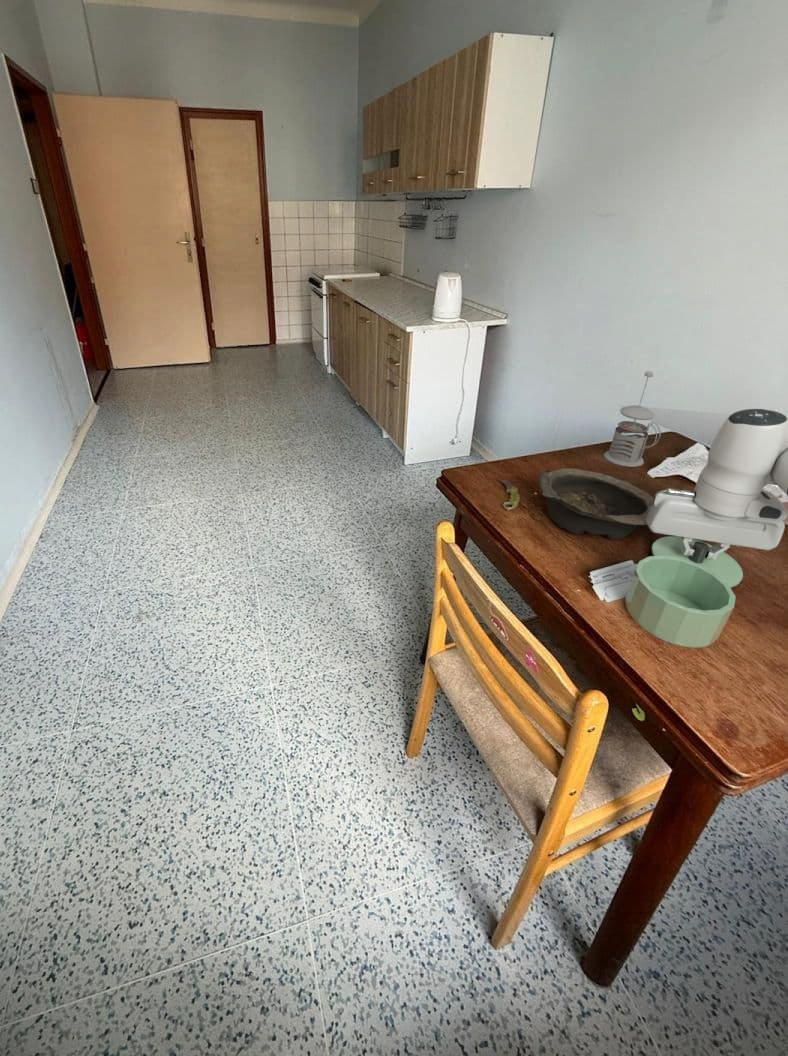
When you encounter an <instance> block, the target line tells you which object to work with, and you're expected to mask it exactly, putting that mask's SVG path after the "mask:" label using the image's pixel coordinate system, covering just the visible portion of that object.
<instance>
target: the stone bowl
mask: <svg viewBox="0 0 788 1056" xmlns="http://www.w3.org/2000/svg"><path fill="white" fill-rule="evenodd" d="M539 487H540V489H541V490H542V493H541V495H542V496H543V497H545V498H546V507H547V515H548V517H549V518H550V519H551V520H552V521H553V523H555V524H556V526H557V527H558V528H561V529H564V530H566V531H567V532H568V533H571V534H576V535H582V534H584V533H587V534H590V535H598V536H599V535H603V536H604V537H605V538H606V539H609V540H611V541H615V540H617V541H618V540H621V539H624V538H625V537H627V536H629V535H630V534H631V533H632V532H633V531H634V530H635V529H636V528H637V527H638V526H648V525H647V522H646V517H647V515H648V513H649V511H650V509H651V507H652V505H653V500H654V497H653V496H652V495H650V494H649V493H647V492H646V491H645V490H643V489H640V488H639V487H637V486H635V485H634V484H632V483H630V482H628V481H626V480H623V479H618V478H615V477H614V476H610V475H607V474H605V473H600V472H595V471H591V470H584V469H581V468H567V467H566V468H559V469H556V470H552V471H549V472H547V471H543V470H541V473H540V475H539Z"/></svg>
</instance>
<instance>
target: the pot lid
mask: <svg viewBox="0 0 788 1056" xmlns="http://www.w3.org/2000/svg"><path fill="white" fill-rule="evenodd" d="M688 544H692V545H693V548H694V549H695V551H694V553H693V556H687V555H683V554H682V552H681V548H682V546H683V542H682V539H681V537H679V536H673V535H668V536H664V537H660V538H658V539H656V540H655V541H653V543H652V546H651V549H650V550H651V556H664V555H665V556H671V557H677V558H682V559H685V560H688V561H690V562H693V563H696V564H699V565H701V566H703V567H704V568H706V569H708V570H710V571H711V572H713V573H715V574H717V575H718V576H719V577H720V578H721V579H722V580H724V581H725V582H726V583H727V584H728V585H729V586H730V588H731V589H732V588H734V587H736V586H738V585H739V584H740V583H741V582H742V580H743V578H744V573H743V569H742V567H741V566H740V564H739V563H738V562H737V560H735V559H734V558H733V557H732V556H730V555H729V554H728V553H726V552H725V551H723V552H721V553H720V554H718V556H717V558H716V560H712V559H706V558H705V557H706V555H707V553H708V550H709V547H712V546H713V545H711V544H709V543H707V542H704V541H703V540H699V539H693V540H692V542H688Z"/></svg>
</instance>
